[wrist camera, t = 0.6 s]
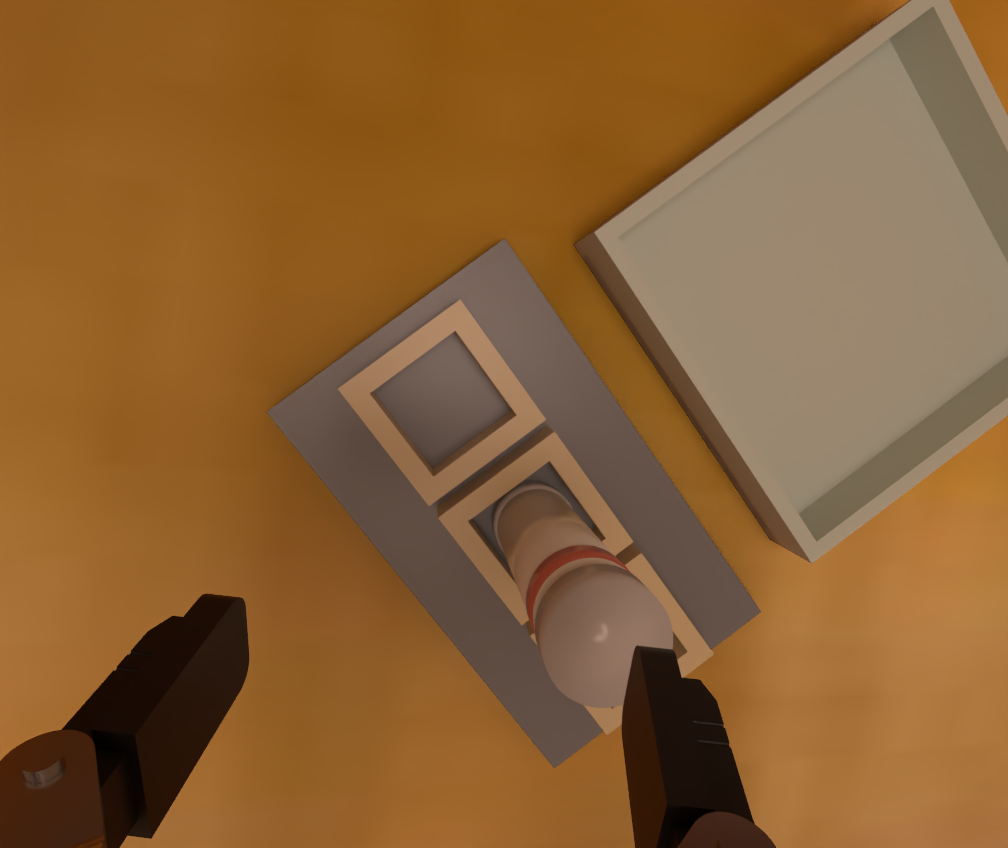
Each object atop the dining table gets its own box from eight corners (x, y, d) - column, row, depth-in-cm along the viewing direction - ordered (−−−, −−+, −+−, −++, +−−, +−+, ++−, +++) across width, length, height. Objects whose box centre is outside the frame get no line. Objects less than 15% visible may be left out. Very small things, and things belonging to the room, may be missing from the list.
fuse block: (273, 408, 33) (256, 416, 29) (501, 242, 33) (510, 231, 30) (549, 751, 37) (562, 793, 34) (747, 601, 37) (781, 627, 34)
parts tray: (573, 244, 33) (594, 232, 30) (878, 21, 34) (939, -20, 30) (770, 539, 37) (811, 563, 33) (1044, 333, 38) (1117, 332, 34)
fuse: (498, 475, 33) (555, 573, 19) (575, 485, 34) (684, 588, 20) (486, 552, 33) (533, 702, 20) (562, 561, 34) (659, 713, 20)
